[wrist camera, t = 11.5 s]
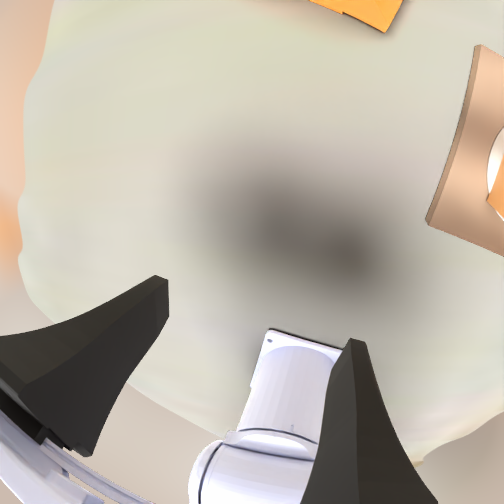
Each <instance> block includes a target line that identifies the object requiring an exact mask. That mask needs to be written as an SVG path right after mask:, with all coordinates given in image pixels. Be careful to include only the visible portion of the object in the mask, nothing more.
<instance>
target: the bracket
mask: <svg viewBox="0 0 504 504" xmlns="http://www.w3.org/2000/svg"><path fill="white" fill-rule="evenodd" d="M309 1H311V2H314V3H316V4H319V5H321V6H324V7H326V8H329V9H331V10H333V11H336V12H338V13H340V14H343V12H345V13H347V14H349V15H351V16H353V17H355V18H357V19H359V20H361V21H363V22H365V23H367V24H369V25H371V26H373V27H375V28H377V29H379V30H381V31H382V32H384V33H385V32H386V30H387V29H388V27H389V26H390V24H391V22H392V20H393V18H394V16H395V14H396V12H397V11H398V9H399V7H400V5H401V3H402V1H403V0H309Z"/></svg>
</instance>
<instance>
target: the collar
mask: <svg viewBox="0 0 504 504" xmlns="http://www.w3.org/2000/svg"><path fill="white" fill-rule="evenodd" d="M487 202H488V203H489V204H490V205H491V206H492V207H493V208H494V209H495V210H496V211H497V212H498V213H499V214H500V215H501V216H502V217H503V218H504V155H503V158H502V161H501V164H500V167H499V170H498V173H497V175H496V178H495V181H494V184H493V186H492V189H491V191H490V194H489V196H488V199H487Z"/></svg>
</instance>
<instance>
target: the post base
mask: <svg viewBox="0 0 504 504" xmlns="http://www.w3.org/2000/svg"><path fill="white" fill-rule="evenodd" d="M503 155H504V57H502V56H501V55H499V54H497V53H496V52H494V51H492V50H490V49H489V48H487V47H485V46H483V45H482V44H481V45H477V46H475V50H474V56H473V62H472V67H471V73H470V78H469V82H468V87H467V92H466V96H465V100H464V104H463V108H462V112H461V116H460V120H459V123H458V127H457V130H456V134H455V137H454V141H453V144H452V147H451V150H450V154H449V157H448V160H447V163H446V166H445V169H444V171H443V174H442V177H441V180H440V183H439V185H438V188H437V191H436V193H435V196H434V199H433V201H432V204H431V206H430V209H429V211H428V214H427V216H426V219H425V220H426V221H427V223H428V225H429V226H431V227H434V228H436V229H439V230H441V231H444V232H446V233H449V234H452V235H454V236H457V237H459V238H461V239H464V240H466V241H469V242H471V243H474V244H476V245H478V246H481V247H483V248H485V249H488V250H490V251H492V252H494V253H497V254H499V255H501V256H503V257H504V218H503V217H502V216H501V215H500V214H499V213H498V212H497V211H496V210H495V209H494V208H493V207H492V206H491V205H490V204H489V203H488V202H487V199H488V196H489V194H490V191H491V189H492V186H493V184H494V181H495V178H496V175H497V173H498V170H499V167H500V164H501V161H502V158H503Z"/></svg>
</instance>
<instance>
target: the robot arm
mask: <svg viewBox="0 0 504 504" xmlns="http://www.w3.org/2000/svg"><path fill="white" fill-rule="evenodd" d="M168 317H169V295H168V280H167V279H164V278H162V277H159V276H156V275H154V276H152V277H150V278H149V279H147V280H145V281H143V282H142V283H140V284H138V285H136V286H135V287H133V288H131V289H129V290H128V291H126V292H124V293H122V294H121V295H119V296H117V297H115V298H113V299H112V300H110V301H108V302H106V303H104V304H102V305H100V306H98V307H96V308H94V309H92V310H90V311H88V312H86V313H84V314H81V315H79V316H77V317H74V318H72V319H69V320H67V321H64V322H61V323H58V324H55V325H52V326H48V327H46V328H42V329H38V330H34V331H29V332H25V333H20V334H13V335H7V336H0V479H1V480H2V481H3V482H4V483H5V484H6V485H7V487H8V488H9V489H10V490H11V491H12V492H13V493H14V494H15V495H16V496H17V497H18V498H19V499H20V501H22V503H24V504H104V501H103V500H101V499H100V498H98V497H97V496H95V495H94V494H92V493H91V492H89V491H87V490H86V489H84V488H83V487H81V486H79V485H78V484H76V483H75V482H73V481H71V480H70V479H69V474H68V472H70V473H71V474H72V475H74V476H76V477H77V478H78V479H80V480H81V481H83V482H84V483H86V484H87V485H89V486H91V487H92V488H94V489H96V490H97V491H99V492H100V493H102V494H104V495H105V496H107V497H109V498H111V499H112V500H114V501H116V502H118V503H120V504H154V503H152V502H150V501H148V500H146V499H144V498H142V497H140V496H138V495H136V494H134V493H132V492H130V491H128V490H126V489H124V488H122V487H121V486H119V485H117V484H115V483H114V482H112V481H110V480H108V479H106V478H105V477H103V476H101V475H100V474H98V473H97V472H95V471H93V470H92V469H90V468H89V467H87V466H85V465H84V464H82V463H81V462H79V461H78V460H76V459H75V458H73V457H72V456H71V455H69V454H68V453H66V452H65V451H63V450H62V449H63V447H65V448H66V449H68V450H69V451H71V450H72V449H73V450H74V451H76V452H77V453H79V454H80V455H82V456H83V457H89V456H92V454H93V451H94V448H95V446H96V443H97V441H98V438H99V436H100V433H101V431H102V429H103V426H104V424H105V422H106V419H107V417H108V415H109V413H110V411H111V409H112V407H113V405H114V403H115V401H116V399H117V397H118V395H119V394H120V392H121V389H122V388H123V386H124V384H125V383H126V381H127V379H128V378H129V376H130V375H131V373H132V372H133V371H134V369H135V368H136V366H137V365H138V364H139V362H140V361H141V360H142V358H143V357H144V355H145V354H146V353H147V351H148V350H149V349H150V347H151V346H152V344H153V343H154V342H155V340H156V339H157V337H158V336H159V334H160V332H161V330H162V329H163V327H164V325H165V323H166V321H167V319H168ZM271 339H272V340H271ZM250 387H251V388H252V390H251V393H250V395H249V398H248V401H247V403H246V406H245V408H244V411H243V414H242V416H241V419H240V421H239V424H238V426H237V429H236V431H230V430H229V431H228V432H227V435H226V437H225V440H224V441H223V440H215V441H214V442H212V443H211V444H210V445H208V446H206V447H205V448H204V449H203V450H202V451H201V453H200V454H199V456H198V458H197V459H196V461H195V464H194V466H193V468H192V472H191V474H190V478H189V485H188V493H189V497H190V504H438V501H437V500H436V499H435V497H434V496H433V495H432V493H431V492H430V491H429V489H428V488H427V487H426V485H425V484H424V483H423V481H422V480H421V478H420V477H419V475H418V473H417V472H416V470H415V469H414V467H413V465H412V463H411V462H410V460H409V458H408V456H407V455H406V453H405V451H404V449H403V447H402V445H401V443H400V441H399V439H398V437H397V435H396V432H395V430H394V428H393V426H392V423H391V421H390V418H389V416H388V413H387V410H386V408H385V405H384V402H383V399H382V396H381V393H380V390H379V387H378V384H377V381H376V378H375V374H374V371H373V367H372V364H371V360H370V357H369V353H368V349H367V346H366V343H365V342H364V341H360V340H356V339H352V338H350V339H349V340H348V342H347V344H346V346H345V347H344V349H343V351H342V350H338V349H335V348H331V347H327V346H324V345H320V344H317V343H314V342H310V341H307V340H303V339H300V338H297V337H293V336H290V335H287V334H284V333H280V332H277V331H274V330H269V331H267V333H266V335H265V339H264V342H263V345H262V349H261V352H260V355H259V359H258V362H257V365H256V368H255V371H254V375H253V378H252V381H251V384H250ZM66 470H67V471H68V472H67V471H66Z"/></svg>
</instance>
